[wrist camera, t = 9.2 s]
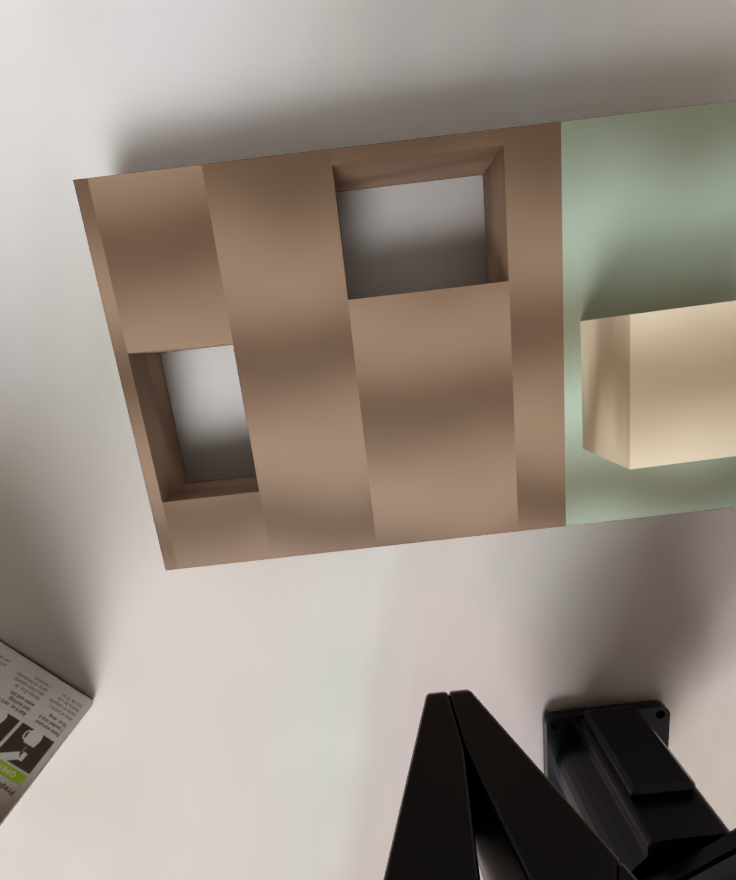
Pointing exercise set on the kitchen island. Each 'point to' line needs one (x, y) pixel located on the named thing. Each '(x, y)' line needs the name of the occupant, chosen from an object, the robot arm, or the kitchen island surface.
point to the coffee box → (31, 723)
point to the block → (660, 385)
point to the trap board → (412, 332)
